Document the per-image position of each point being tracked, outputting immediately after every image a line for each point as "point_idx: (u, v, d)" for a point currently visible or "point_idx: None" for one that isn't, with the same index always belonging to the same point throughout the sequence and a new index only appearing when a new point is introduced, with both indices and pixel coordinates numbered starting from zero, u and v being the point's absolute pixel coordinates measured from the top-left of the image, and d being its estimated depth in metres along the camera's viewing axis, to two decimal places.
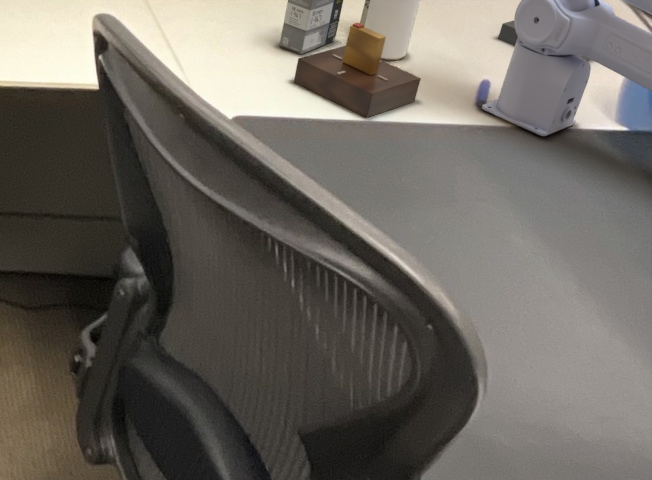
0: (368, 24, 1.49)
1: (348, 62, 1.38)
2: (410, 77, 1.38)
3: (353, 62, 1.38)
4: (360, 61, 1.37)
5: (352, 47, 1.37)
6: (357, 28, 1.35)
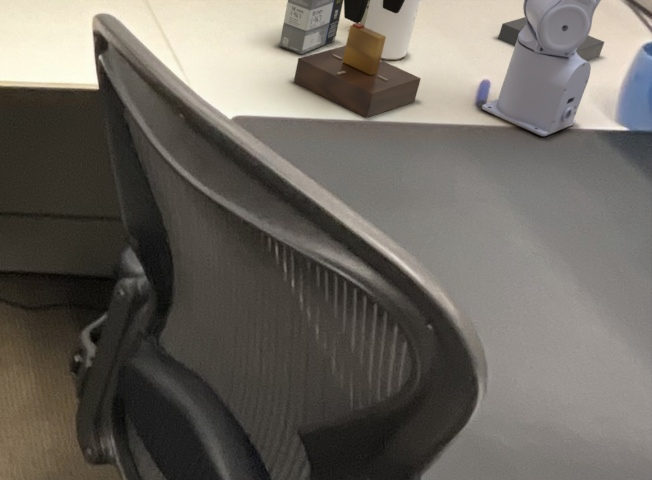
0: (368, 24, 1.49)
1: (348, 62, 1.38)
2: (410, 77, 1.38)
3: (353, 62, 1.38)
4: (360, 61, 1.37)
5: (352, 47, 1.37)
6: (357, 28, 1.35)
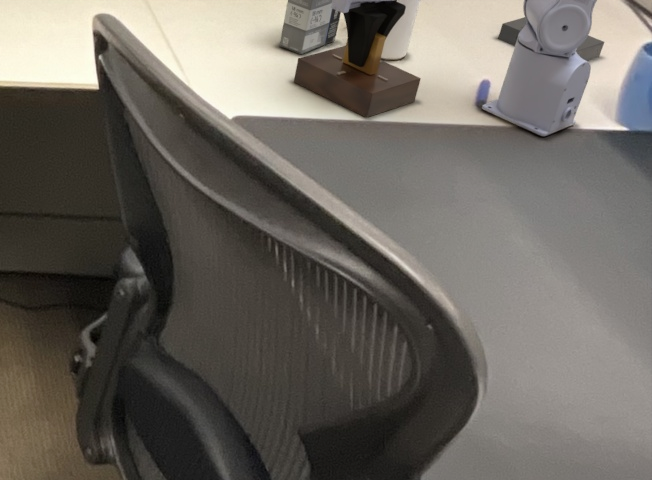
0: None
1: (348, 62, 1.38)
2: (410, 77, 1.38)
3: None
4: None
5: None
6: None
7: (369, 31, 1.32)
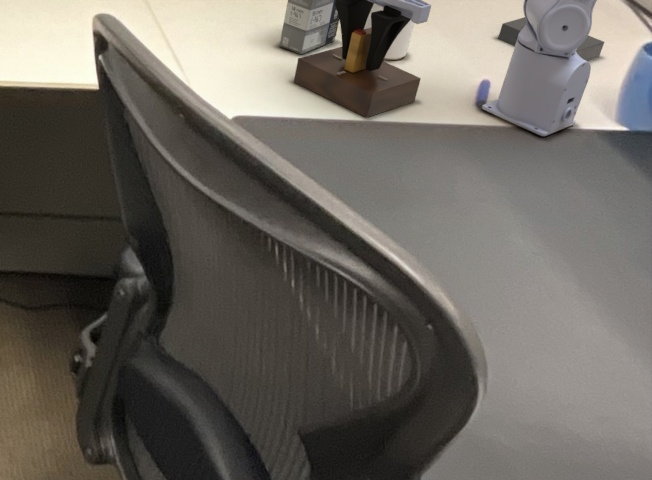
0: (368, 24, 1.49)
1: (357, 69, 1.37)
2: (410, 77, 1.38)
3: (362, 65, 1.37)
4: None
5: (361, 53, 1.36)
6: (365, 34, 1.34)
7: (400, 30, 1.34)
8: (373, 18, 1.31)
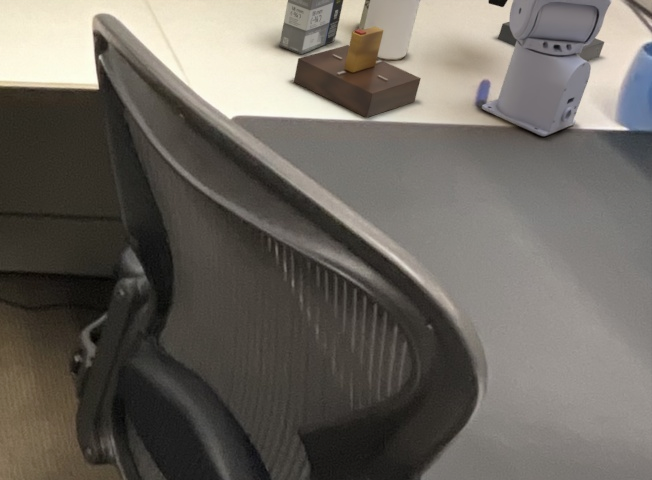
0: (368, 24, 1.49)
1: (357, 69, 1.37)
2: (410, 77, 1.38)
3: (362, 65, 1.37)
4: (367, 60, 1.37)
5: (361, 53, 1.36)
6: (365, 34, 1.34)
7: None
8: None
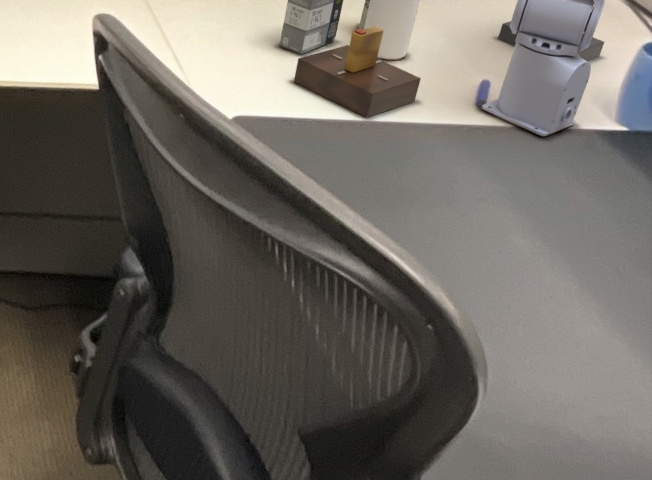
0: (368, 24, 1.49)
1: (357, 69, 1.37)
2: (410, 77, 1.38)
3: (362, 65, 1.37)
4: (367, 60, 1.37)
5: (361, 53, 1.36)
6: (365, 34, 1.34)
7: None
8: None
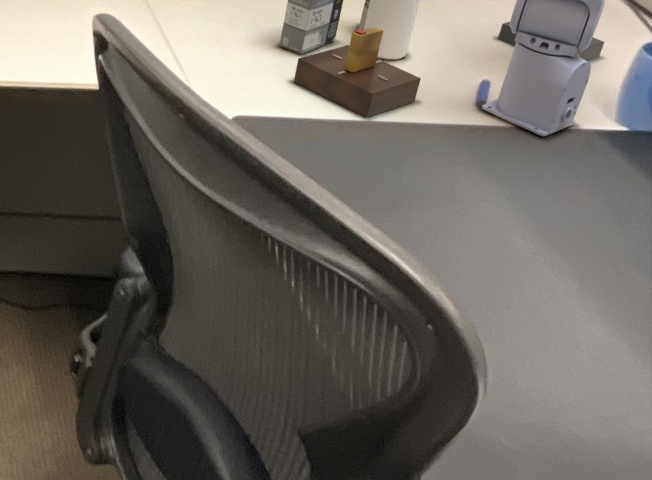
0: (368, 24, 1.49)
1: (357, 69, 1.37)
2: (410, 77, 1.38)
3: (362, 65, 1.37)
4: (367, 60, 1.37)
5: (361, 53, 1.36)
6: (365, 34, 1.34)
7: None
8: None
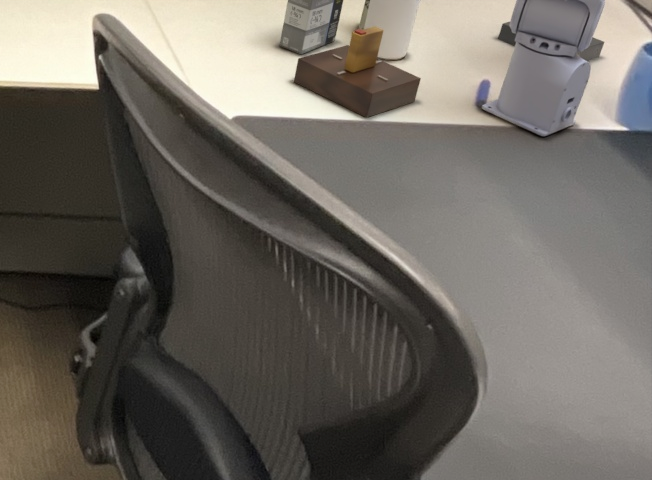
0: (368, 24, 1.49)
1: (357, 69, 1.37)
2: (410, 77, 1.38)
3: (362, 65, 1.37)
4: (367, 60, 1.37)
5: (361, 53, 1.36)
6: (365, 34, 1.34)
7: None
8: None
